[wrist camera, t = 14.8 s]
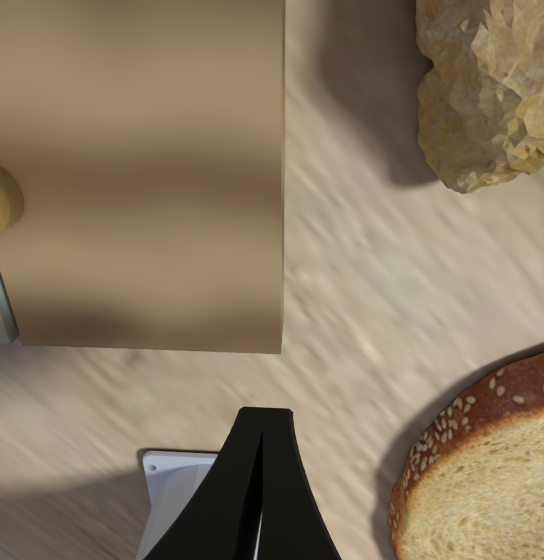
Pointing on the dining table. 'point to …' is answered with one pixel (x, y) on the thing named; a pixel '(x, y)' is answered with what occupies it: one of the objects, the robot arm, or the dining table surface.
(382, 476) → the dining table surface
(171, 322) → the door mockup
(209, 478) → the robot arm
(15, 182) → the bar
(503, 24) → the stone tool
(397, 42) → the dining table surface
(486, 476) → the slice of bread
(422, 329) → the dining table surface
